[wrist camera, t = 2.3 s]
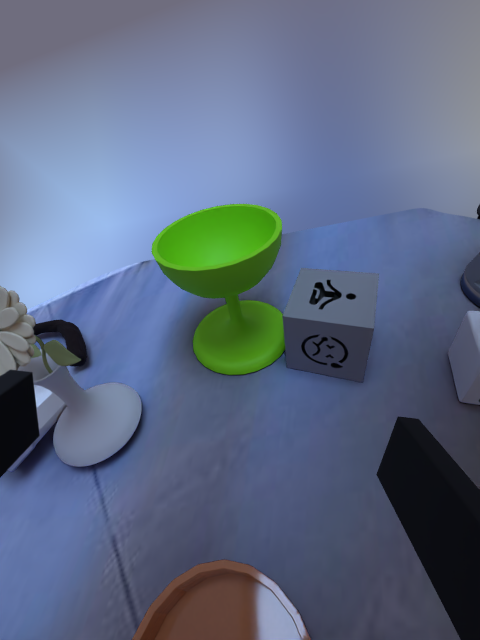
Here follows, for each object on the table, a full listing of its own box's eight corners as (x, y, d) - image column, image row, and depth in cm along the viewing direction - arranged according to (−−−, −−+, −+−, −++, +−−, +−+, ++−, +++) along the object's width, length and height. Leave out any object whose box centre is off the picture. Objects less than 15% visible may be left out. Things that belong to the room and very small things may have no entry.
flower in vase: (44, 449, 39) (-163, 307, 22) (107, 381, 46) (-15, 232, 29) (112, 495, 33) (-98, 351, 16) (172, 409, 40) (68, 244, 23)
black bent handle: (115, 328, 54) (107, 315, 52) (84, 370, 47) (74, 357, 45) (12, 325, 59) (2, 313, 57) (-29, 363, 52) (-42, 351, 50)
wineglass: (236, 292, 56) (215, 197, 44) (310, 322, 47) (309, 214, 35) (173, 345, 49) (126, 249, 37) (246, 394, 40) (216, 288, 28)
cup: (37, 358, 40) (-48, 431, 33) (68, 376, 37) (-18, 458, 31) (63, 384, 44) (-7, 452, 38) (93, 402, 42) (23, 478, 35)
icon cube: (302, 319, 48) (368, 328, 45) (286, 367, 42) (362, 382, 38) (301, 268, 41) (379, 273, 38) (282, 316, 35) (374, 328, 31)
